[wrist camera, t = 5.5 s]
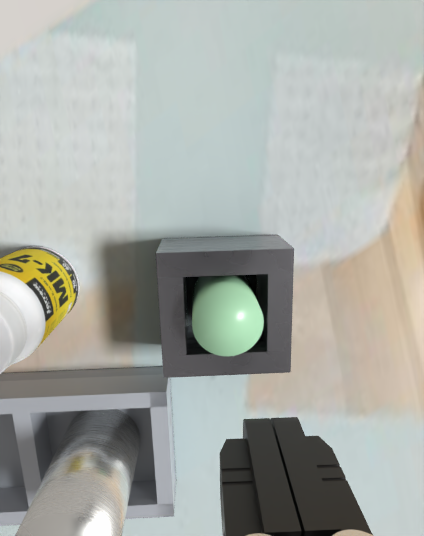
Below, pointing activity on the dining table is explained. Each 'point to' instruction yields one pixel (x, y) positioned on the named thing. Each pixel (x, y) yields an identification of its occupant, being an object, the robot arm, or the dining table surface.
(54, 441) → the tray
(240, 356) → the button housing
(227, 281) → the button
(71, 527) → the seated billet
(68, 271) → the supplement bottle
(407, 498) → the dining table surface
